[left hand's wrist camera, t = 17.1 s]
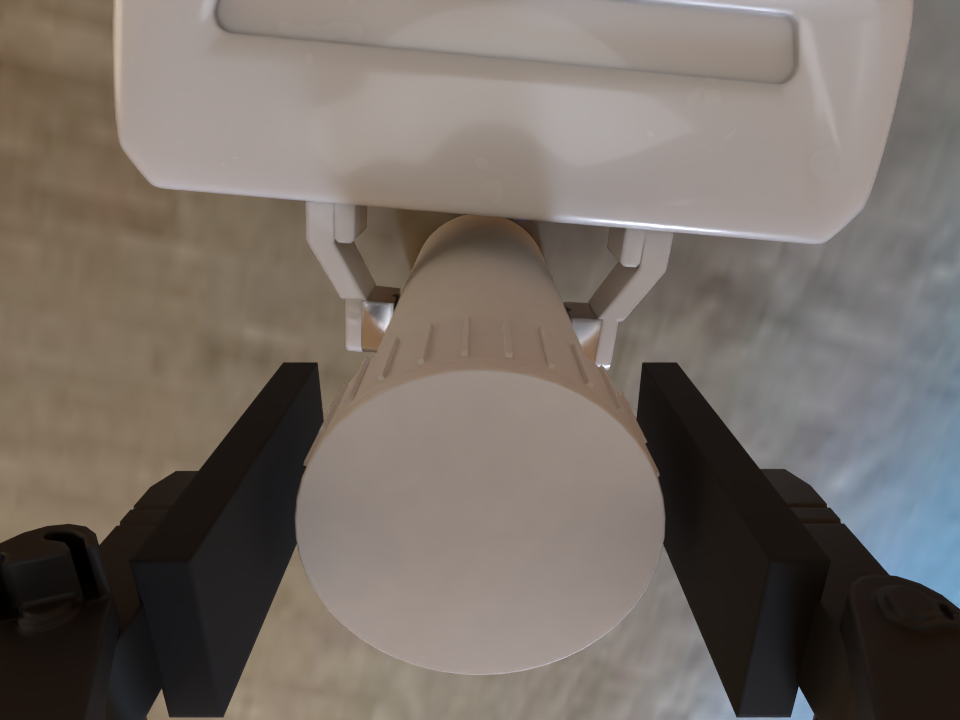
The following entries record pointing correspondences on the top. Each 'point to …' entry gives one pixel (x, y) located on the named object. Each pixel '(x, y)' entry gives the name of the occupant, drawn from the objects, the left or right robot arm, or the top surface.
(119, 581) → the left robot arm
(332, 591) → the lid
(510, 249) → the jar
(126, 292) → the top surface
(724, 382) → the top surface
